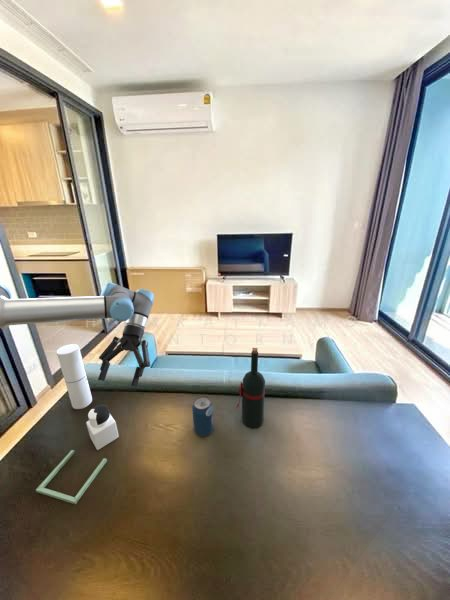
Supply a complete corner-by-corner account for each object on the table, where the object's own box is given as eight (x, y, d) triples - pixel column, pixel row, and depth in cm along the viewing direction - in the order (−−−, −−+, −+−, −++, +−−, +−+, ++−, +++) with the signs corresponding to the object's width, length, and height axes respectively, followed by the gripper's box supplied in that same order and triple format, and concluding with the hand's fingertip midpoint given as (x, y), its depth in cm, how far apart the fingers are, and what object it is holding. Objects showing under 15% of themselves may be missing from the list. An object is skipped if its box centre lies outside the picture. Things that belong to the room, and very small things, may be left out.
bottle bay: (36, 492, 69) (35, 489, 69) (72, 451, 80) (71, 449, 80) (75, 504, 66) (74, 502, 66) (107, 460, 77) (106, 458, 77)
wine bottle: (236, 410, 96) (236, 342, 85) (263, 412, 95) (266, 343, 84) (234, 427, 88) (234, 354, 78) (263, 429, 87) (267, 356, 77)
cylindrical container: (68, 408, 98) (51, 353, 89) (80, 395, 104) (66, 343, 96) (84, 410, 97) (69, 355, 88) (96, 397, 103) (83, 344, 94)
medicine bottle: (111, 425, 90) (105, 398, 86) (119, 437, 85) (113, 410, 81) (90, 437, 85) (82, 410, 81) (97, 451, 80) (89, 422, 76)
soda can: (217, 431, 87) (216, 404, 83) (199, 441, 83) (198, 413, 79) (207, 418, 92) (206, 392, 88) (190, 427, 89) (188, 400, 84)
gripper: (167, 333, 98) (153, 389, 90) (113, 327, 104) (94, 379, 96) (160, 327, 92) (143, 387, 83) (102, 321, 97) (81, 376, 89)
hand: (117, 383), depth 89 cm, fingers open, 13 cm apart
